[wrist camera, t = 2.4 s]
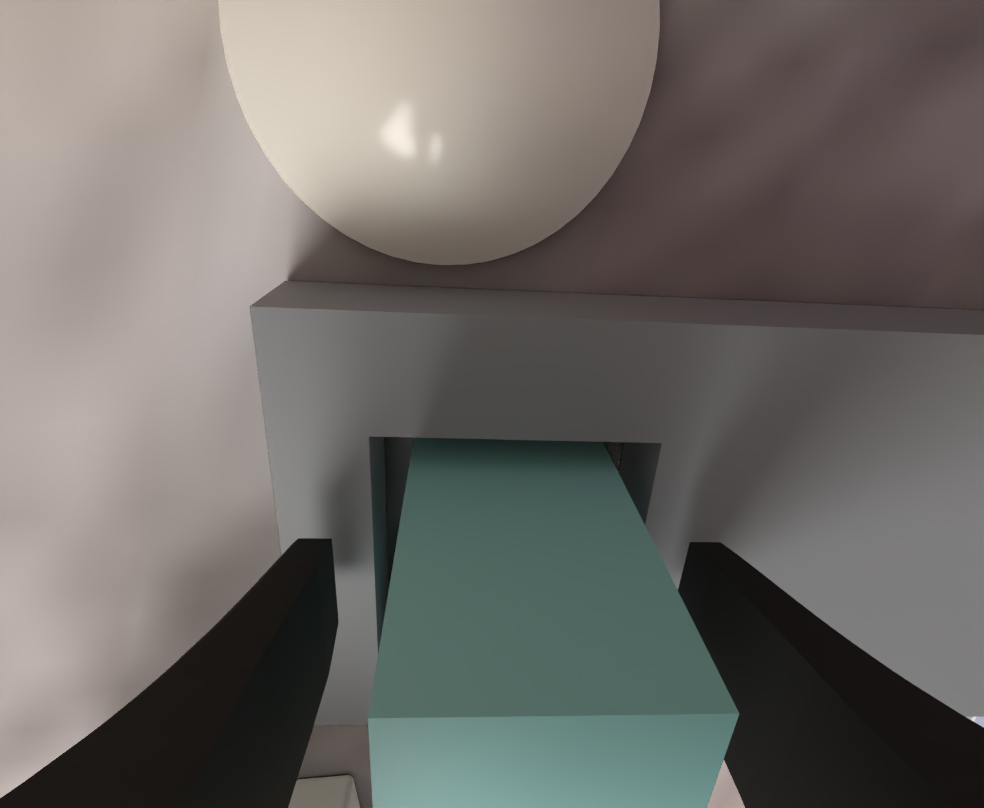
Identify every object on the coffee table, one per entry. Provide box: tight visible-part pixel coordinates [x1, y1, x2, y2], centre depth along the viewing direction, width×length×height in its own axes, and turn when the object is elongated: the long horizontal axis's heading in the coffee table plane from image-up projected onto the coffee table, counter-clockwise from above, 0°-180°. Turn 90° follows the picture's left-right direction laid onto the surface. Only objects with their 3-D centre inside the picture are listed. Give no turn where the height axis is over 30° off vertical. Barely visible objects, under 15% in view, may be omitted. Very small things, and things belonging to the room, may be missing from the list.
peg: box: [368, 438, 739, 808], centre depth 10 cm, size 4×4×7 cm
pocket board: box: [250, 281, 984, 726], centre depth 12 cm, size 18×10×2 cm, turn 87°
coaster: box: [218, 0, 660, 265], centre depth 9 cm, size 7×7×1 cm
